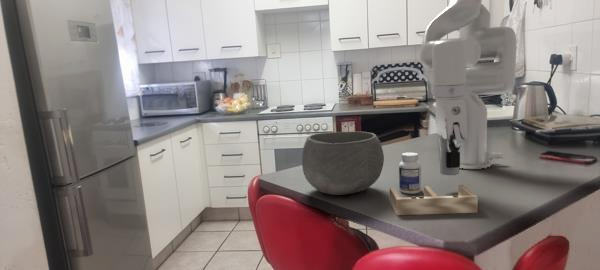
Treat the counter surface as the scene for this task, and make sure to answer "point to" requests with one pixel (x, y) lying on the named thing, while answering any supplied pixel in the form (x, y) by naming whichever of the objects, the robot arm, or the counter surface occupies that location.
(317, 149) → the bowl
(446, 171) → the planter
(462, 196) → the slot rack
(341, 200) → the counter surface
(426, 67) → the robot arm
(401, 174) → the pill bottle
